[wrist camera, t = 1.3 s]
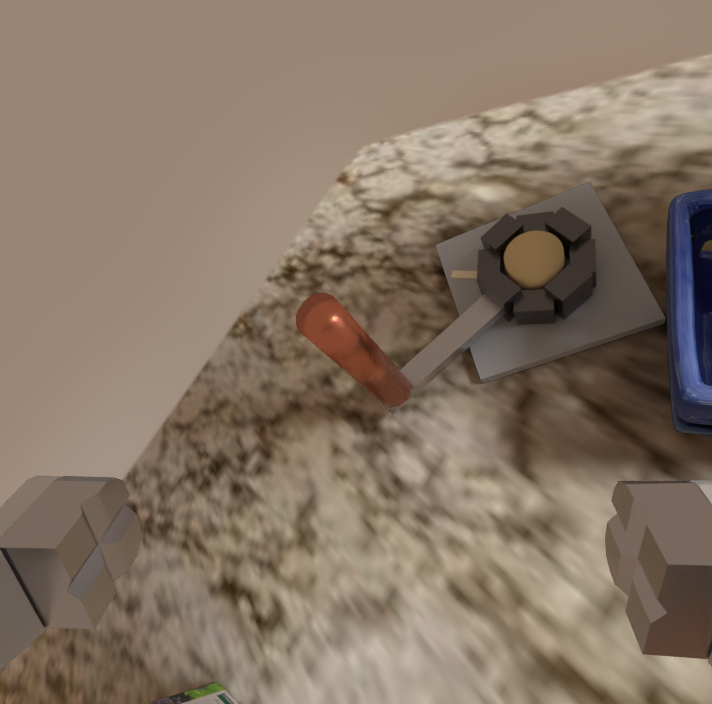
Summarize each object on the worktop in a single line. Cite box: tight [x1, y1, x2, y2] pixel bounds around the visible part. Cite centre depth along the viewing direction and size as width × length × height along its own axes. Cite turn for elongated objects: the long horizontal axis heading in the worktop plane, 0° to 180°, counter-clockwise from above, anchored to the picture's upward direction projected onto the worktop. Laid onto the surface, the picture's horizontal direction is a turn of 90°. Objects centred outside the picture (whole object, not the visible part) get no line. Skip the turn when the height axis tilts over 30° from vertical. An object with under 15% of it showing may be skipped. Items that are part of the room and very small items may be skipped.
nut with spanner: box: [296, 207, 596, 414], centre depth 37 cm, size 21×9×16 cm, turn 126°
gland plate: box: [435, 182, 666, 383], centre depth 42 cm, size 14×14×4 cm
